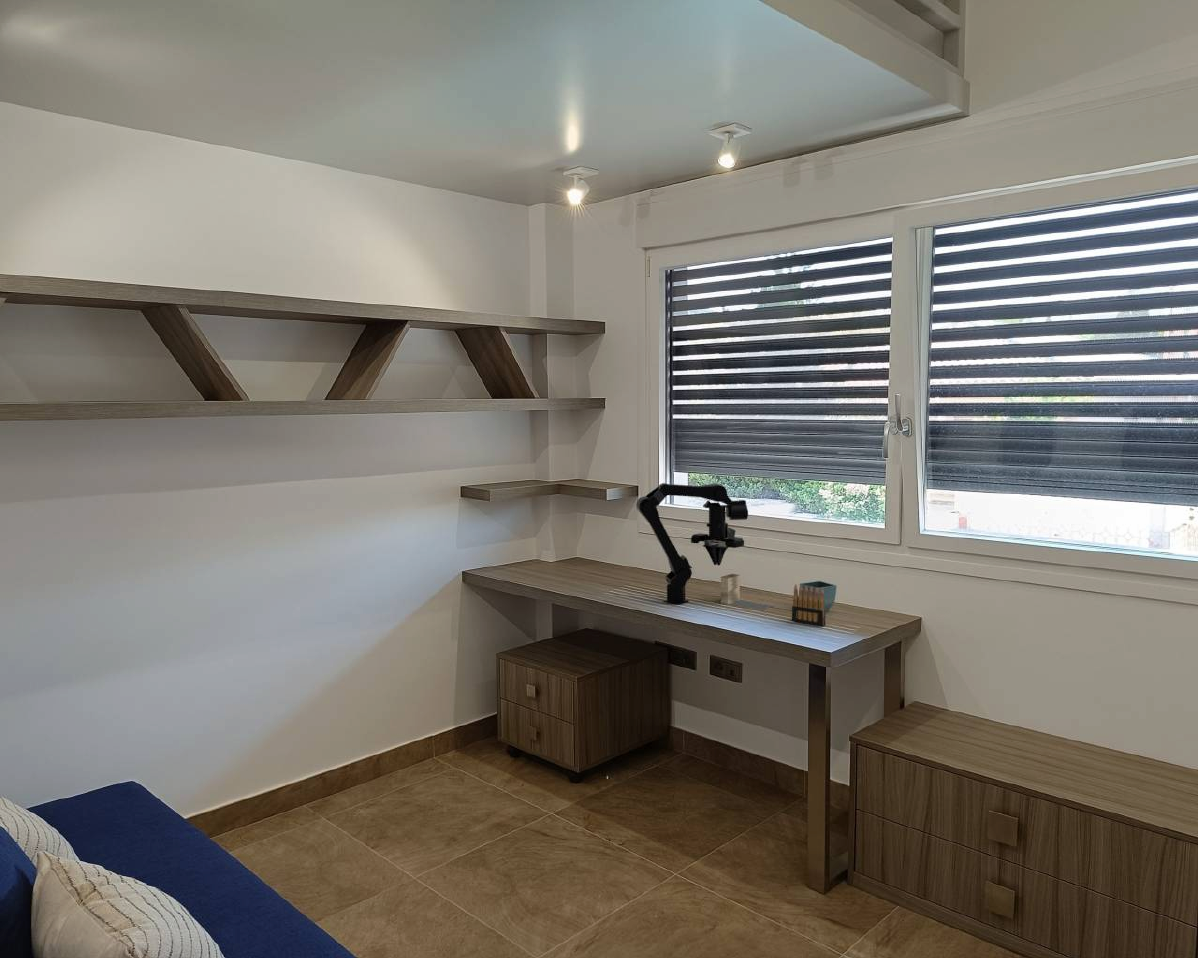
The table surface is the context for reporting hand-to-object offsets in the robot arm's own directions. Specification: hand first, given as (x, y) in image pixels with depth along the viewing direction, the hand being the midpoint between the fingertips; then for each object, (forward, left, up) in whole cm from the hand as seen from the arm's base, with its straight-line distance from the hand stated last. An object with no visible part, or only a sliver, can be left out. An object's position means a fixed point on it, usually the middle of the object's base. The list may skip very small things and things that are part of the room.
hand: (717, 565), depth 318 cm
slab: (0, -5, -12) cm, 13 cm away
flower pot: (+8, -34, -13) cm, 38 cm away
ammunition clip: (-9, -40, -13) cm, 43 cm away
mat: (0, -11, -12) cm, 17 cm away
